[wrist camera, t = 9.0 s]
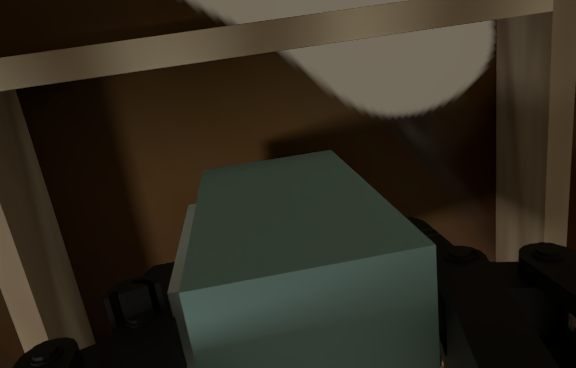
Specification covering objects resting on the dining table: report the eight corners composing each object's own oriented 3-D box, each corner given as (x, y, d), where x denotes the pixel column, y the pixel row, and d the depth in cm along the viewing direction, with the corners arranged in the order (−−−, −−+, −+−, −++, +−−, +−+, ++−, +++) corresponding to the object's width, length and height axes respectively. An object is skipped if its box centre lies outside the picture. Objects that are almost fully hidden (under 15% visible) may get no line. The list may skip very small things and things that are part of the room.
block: (225, 285, 18) (225, 491, 10) (202, 170, 17) (178, 293, 8) (342, 264, 19) (442, 441, 10) (330, 149, 17) (435, 244, 9)
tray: (85, 380, 21) (58, 440, 18) (-20, 66, 17) (-83, 69, 14) (513, 299, 23) (561, 341, 20) (519, -10, 18) (581, -24, 15)
